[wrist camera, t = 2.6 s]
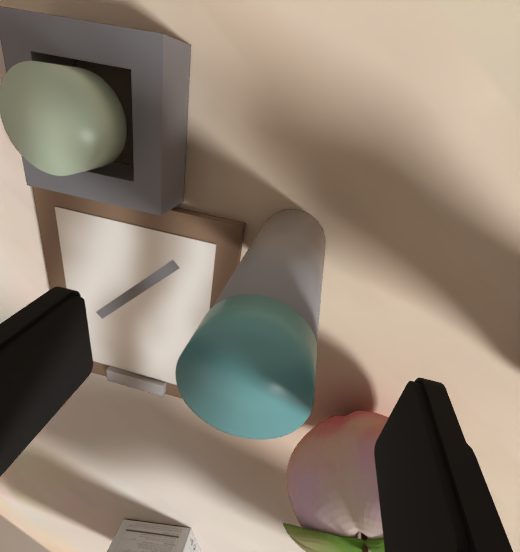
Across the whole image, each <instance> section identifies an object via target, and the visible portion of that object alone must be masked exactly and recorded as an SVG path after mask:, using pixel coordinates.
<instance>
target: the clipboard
mask: <svg viewBox="0 0 520 552" xmlns="http://www.w3.org/2000/svg"><path fill="white" fill-rule="evenodd" d="M33 192H34V198H35V203H36V209H37V215H38V221H39V226H40V232H41V238H42V244H43V249H44V255H45V261H46V267H47V272H48V278H49V284H50V290H51V289H52V288H54V287H58V286H60V287H64V288H67V289H71V290H75V291H78V292H79V293H80V295H81V297H82V298H83V299H84V301H85V307H86V314H87V321H88V328H89V336H90V343H91V350H92V358H93V368H92V371H91V372H93V373H97V374H100V375H103V376H107V380H108V381H112V382H115V383H118V384H122V385H125V386H129V387H132V388H136V389H139V390H142V391H146V392H149V393H153V394H156V395H160V396H164V394H169V395H172V396H176V397H179V398H182V396H181V394H180V392H179V389H178V387H177V383H176V374H175V371H176V365H177V362H178V359H179V357H180V355H181V353H182V352H183V350H184V348H185V347H186V345H187V344H188V342H189V341H190V339H191V337H192V336H193V334H194V333H195V331H196V329H197V328H198V326H199V325H200V323H201V322H202V320H203V318H204V317H205V315H206V314H207V313H208V311H209V310H210V309H211V308H212V307H213V305H214V304H215V302H216V300H217V299H218V297H219V296H220V294H221V292H222V291H223V289H224V288H225V286H226V284H227V283H228V281H229V280H230V278H231V276H232V275H233V273H234V272H235V270H236V268H237V267H238V265H239V263H240V257H241V250H242V243H243V236H244V229H245V223H241V222H236V221H232V220H227V219H223V218H219V217H214V216H210V215H205V214H201V213H196V212H192V211H188V210H183V209H179V208H173V209H171V210H169V211H168V212H166V213H164V214H163V215H161V216H159V215H155V214H151V213H146V212H142V211H138V210H133V209H129V208H125V207H120V206H116V205H112V204H107V203H103V202H99V201H94V200H90V199H86V198H81V197H77V196H73V195H68V194H64V193H60V192H55V191H51V190H47V189H42V188H38V187H34V186H33Z"/></svg>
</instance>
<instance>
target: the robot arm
mask: <svg viewBox="0 0 520 552" xmlns="http://www.w3.org/2000/svg"><path fill="white" fill-rule="evenodd" d="M92 368H93V358H92V350H91V343H90V336H89V328H88V321H87V314H86V307H85V301H84V299H83V298H82V297H81V295H80V293H79V292H78V291H75V290H71V289H67V288H64V287H60V286H58V287H54V288H52V289H51V290H49V291H48V292H46V293H45V294H43V295H42V296H40V297H39V298H37V299H36V300H35V301H33V302H32V303H30V304H29V305H27V306H26V307H24V308H23V309H21V310H20V311H18V312H17V313H16V314H14V315H13V316H11V317H10V318H8V319H7V320H5V321H4V322H2V323H1V324H0V476H1V475H2V474H3V473H4V472H5V471H6V470H7V468H8V467H9V466H10V465H11V464H12V463H13V462H14V460H15V459H16V458H17V457H18V456H19V455H20V454H21V452H22V451H23V450H24V449H25V448H26V447H27V446H28V444H29V443H30V442H31V441H32V440H33V439H34V438H35V436H36V435H37V434H38V433H39V432H40V431H41V430H42V428H43V427H44V426H45V425H46V424H47V423H48V422H49V420H50V419H51V418H52V417H53V416H54V415H55V414H56V412H57V411H58V410H59V409H60V408H61V407H62V406H63V404H64V403H65V402H66V401H67V400H68V399H69V398H70V397H71V395H72V394H73V393H74V392H75V391H76V390H77V389H78V387H79V386H80V385H81V384H82V383H83V382H84V381H85V379H86V378H87V377H88V376H89V375H90V373H91V371H92ZM374 457H375V466H376V475H377V484H378V493H379V502H380V512H381V521H382V530H383V539H384V548H385V552H513V551H512V548H511V546H510V543H509V540H508V538H507V535H506V533H505V530H504V528H503V525H502V523H501V520H500V517H499V515H498V512H497V510H496V507H495V505H494V502H493V500H492V497H491V494H490V492H489V489H488V487H487V484H486V482H485V479H484V477H483V474H482V471H481V469H480V466H479V464H478V461H477V459H476V456H475V454H474V452H473V450H472V448H471V447H470V446H469V445H468V444H467V443H466V441H465V438H464V436H463V433H462V430H461V428H460V425H459V422H458V420H457V417H456V414H455V412H454V409H453V407H452V404H451V401H450V399H449V396H448V393H447V391H446V388H445V386H444V385H443V384H442V383H439V382H435V381H431V380H427V379H424V378H417V379H416V380H415V382H413V381H409V382H408V384H407V385H406V387H405V389H404V391H403V393H402V394H401V396H400V398H399V400H398V402H397V404H396V405H395V407H394V409H393V411H392V413H391V415H390V417H389V418H388V420H387V422H386V424H385V426H384V428H383V429H382V431H381V433H380V435H379V437H378V439H377V441H376V443H375V448H374Z"/></svg>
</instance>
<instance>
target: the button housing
mask: <svg viewBox="0 0 520 552" xmlns="http://www.w3.org/2000/svg"><path fill="white" fill-rule="evenodd" d="M0 39H1V44H2V50H3V55H4V61H5V66H6V72H8V70H9V69H10V68H11V67H13V66H14V65H16V64H18V63H20V62H24V61H38V62H45V63H52V64H58V65H65V66H72V67H76V59H77V60H82V61H88V62H93V63H99V64H104V65H110V66H115V67H121V68H126V69H131V84H132V123H133V162H134V166H131V165H127V164H122V163H117V162H112V163H111V164H109V165H106V166H103V167H99V168H95V169H92V170H88V171H84V172H80V173H76V174H72V175H67V176H56V175H51V174H48V173H46V172H43V171H41V170H40V169H38V168H36V167H35V166H33V165H32V164H31V163H29V162H28V161H27V160H26V159H25V158H24V157H23V156H22V160H23V166H24V171H25V177H26V182H27V185H29V186H34V187H38V188H42V189H47V190H51V191H55V192H60V193H64V194H68V195H73V196H77V197H81V198H86V199H90V200H94V201H99V202H103V203H107V204H112V205H116V206H120V207H125V208H129V209H133V210H138V211H142V212H146V213H151V214H155V215H159V216H161V215H163V214H164V213H166V212H168V211H169V210H171V209H173V208H174V207H176V206H177V205H179V204H181V203H182V202H184V182H185V161H186V140H187V119H188V97H189V76H190V55H191V45H189V44H187V43H185V42H182V41H180V40H177V39H175V38H172V37H170V36H168V35H165V34H162V33H156V32H150V31H144V30H138V29H132V28H126V27H120V26H114V25H109V24H103V23H97V22H91V21H85V20H79V19H73V18H67V17H61V16H55V15H49V14H43V13H37V12H31V11H25V10H19V9H13V8H7V7H1V6H0Z"/></svg>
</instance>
